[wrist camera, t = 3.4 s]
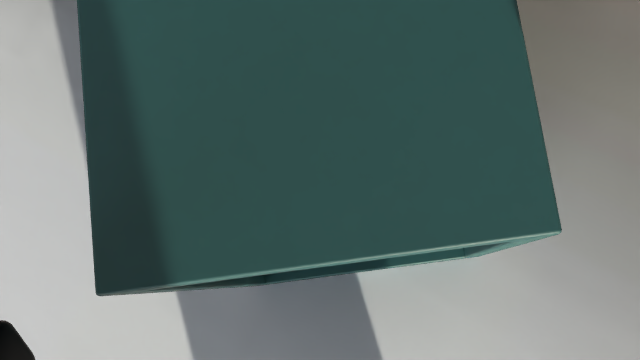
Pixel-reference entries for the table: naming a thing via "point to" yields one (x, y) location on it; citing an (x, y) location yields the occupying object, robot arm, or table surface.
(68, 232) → the table surface
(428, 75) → the teal box
